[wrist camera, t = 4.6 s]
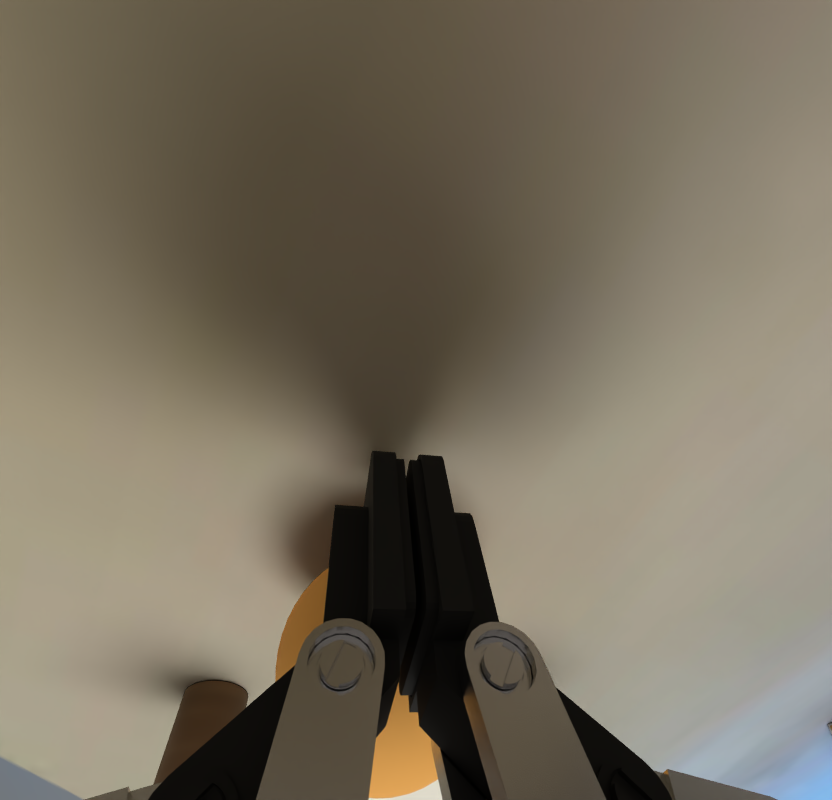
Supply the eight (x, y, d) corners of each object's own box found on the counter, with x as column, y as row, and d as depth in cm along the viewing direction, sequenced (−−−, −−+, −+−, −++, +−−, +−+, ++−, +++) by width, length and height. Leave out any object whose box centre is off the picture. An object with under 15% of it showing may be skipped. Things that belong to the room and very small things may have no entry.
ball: (230, 847, 8) (266, 750, 14) (530, 852, 9) (454, 759, 15) (292, 523, 11) (303, 547, 16) (525, 549, 12) (461, 564, 17)
